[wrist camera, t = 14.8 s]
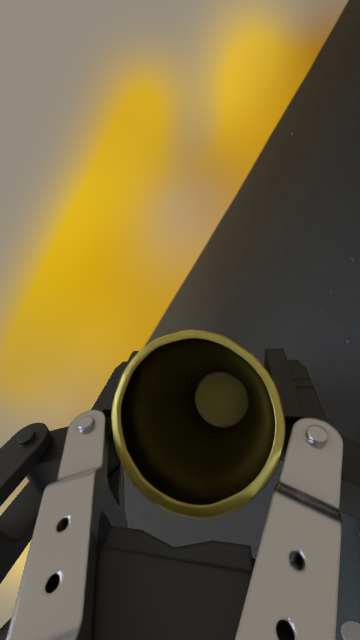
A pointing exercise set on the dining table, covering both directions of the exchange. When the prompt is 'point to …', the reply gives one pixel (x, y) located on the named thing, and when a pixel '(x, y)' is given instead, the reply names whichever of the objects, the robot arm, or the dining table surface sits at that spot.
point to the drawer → (350, 630)
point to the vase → (198, 424)
